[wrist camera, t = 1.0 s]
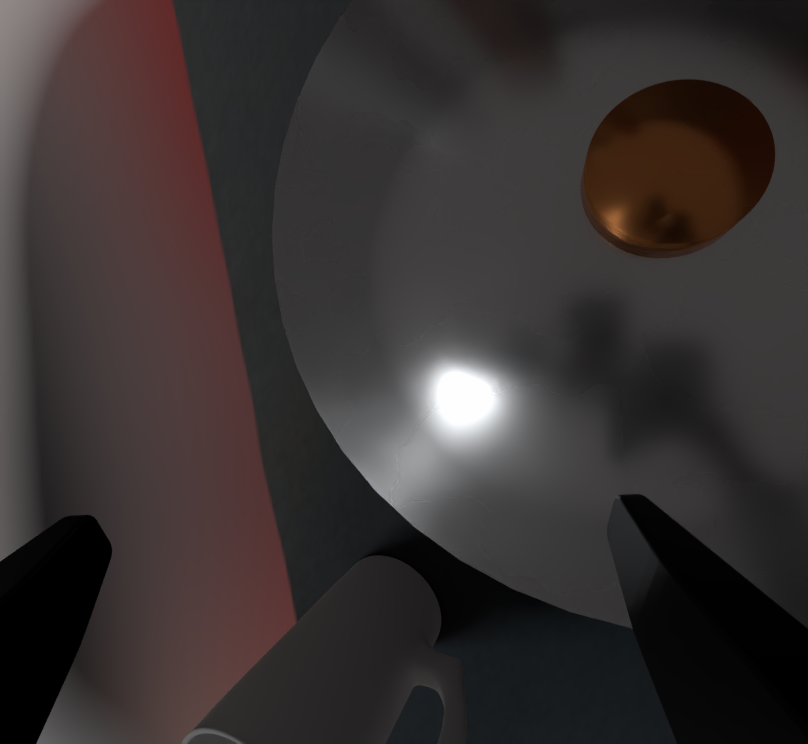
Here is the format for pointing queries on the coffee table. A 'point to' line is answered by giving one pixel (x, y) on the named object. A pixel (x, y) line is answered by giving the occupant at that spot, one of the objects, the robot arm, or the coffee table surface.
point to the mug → (346, 668)
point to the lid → (560, 277)
